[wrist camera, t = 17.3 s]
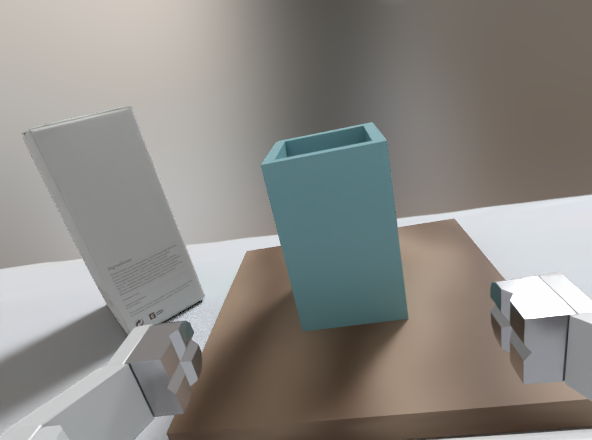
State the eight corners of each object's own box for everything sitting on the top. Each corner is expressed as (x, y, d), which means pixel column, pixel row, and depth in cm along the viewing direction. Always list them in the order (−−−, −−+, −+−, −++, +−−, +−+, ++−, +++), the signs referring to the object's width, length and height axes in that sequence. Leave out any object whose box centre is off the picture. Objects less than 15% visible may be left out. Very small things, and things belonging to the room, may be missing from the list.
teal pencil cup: (302, 331, 21) (260, 164, 18) (307, 277, 27) (276, 141, 23) (408, 318, 21) (386, 140, 17) (391, 265, 26) (372, 122, 22)
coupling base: (177, 456, 17) (95, 284, 14) (250, 265, 34) (221, 165, 31) (599, 425, 15) (626, 203, 11) (455, 234, 31) (448, 121, 28)
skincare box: (207, 300, 30) (137, 103, 24) (125, 345, 27) (22, 128, 21) (170, 271, 36) (109, 111, 31) (101, 305, 33) (17, 131, 27)
